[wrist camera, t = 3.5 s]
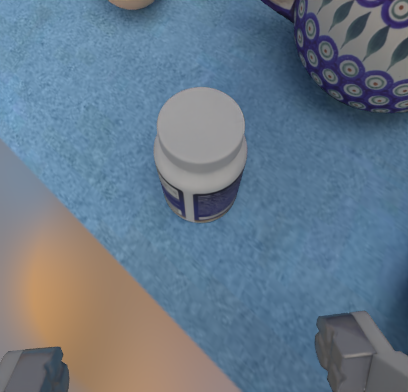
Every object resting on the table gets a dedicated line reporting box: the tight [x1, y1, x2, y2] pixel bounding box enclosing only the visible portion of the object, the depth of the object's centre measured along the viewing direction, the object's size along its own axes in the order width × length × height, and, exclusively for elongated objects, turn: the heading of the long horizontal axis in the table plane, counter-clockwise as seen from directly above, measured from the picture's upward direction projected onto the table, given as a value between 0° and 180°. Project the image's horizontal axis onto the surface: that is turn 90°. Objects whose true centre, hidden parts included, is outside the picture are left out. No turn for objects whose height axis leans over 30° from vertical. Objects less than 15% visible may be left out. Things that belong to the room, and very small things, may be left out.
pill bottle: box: [154, 87, 247, 223], centre depth 23 cm, size 6×6×10 cm
